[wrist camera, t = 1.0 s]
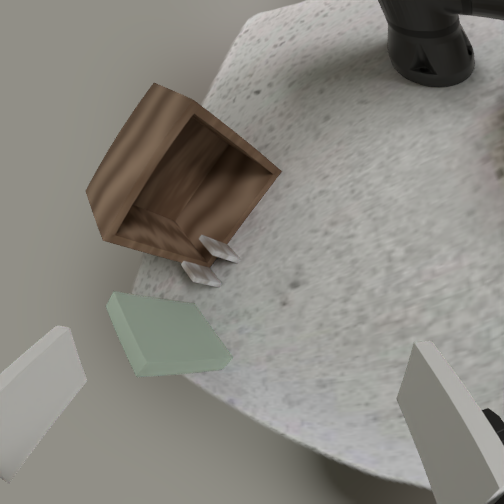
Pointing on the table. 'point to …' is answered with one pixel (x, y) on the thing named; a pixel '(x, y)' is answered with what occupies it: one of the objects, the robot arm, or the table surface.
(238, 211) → the cabinet
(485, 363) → the table surface
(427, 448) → the robot arm
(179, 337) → the cabinet door
